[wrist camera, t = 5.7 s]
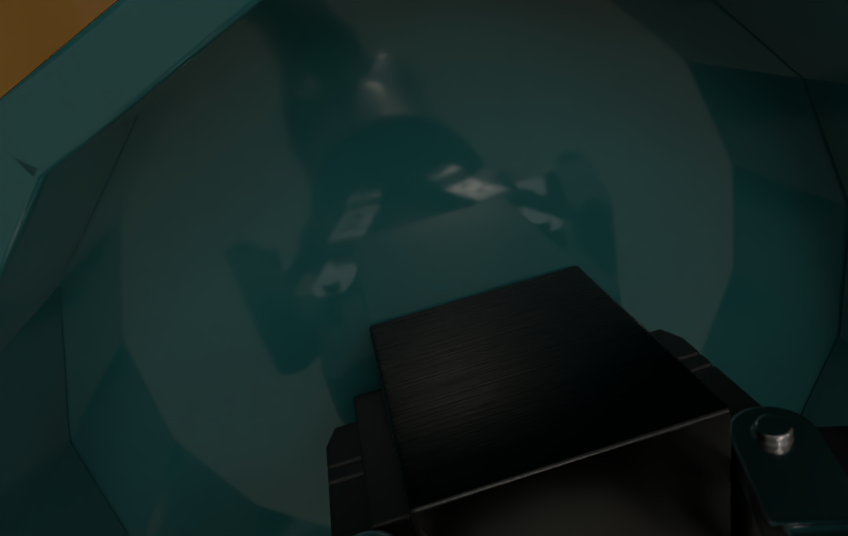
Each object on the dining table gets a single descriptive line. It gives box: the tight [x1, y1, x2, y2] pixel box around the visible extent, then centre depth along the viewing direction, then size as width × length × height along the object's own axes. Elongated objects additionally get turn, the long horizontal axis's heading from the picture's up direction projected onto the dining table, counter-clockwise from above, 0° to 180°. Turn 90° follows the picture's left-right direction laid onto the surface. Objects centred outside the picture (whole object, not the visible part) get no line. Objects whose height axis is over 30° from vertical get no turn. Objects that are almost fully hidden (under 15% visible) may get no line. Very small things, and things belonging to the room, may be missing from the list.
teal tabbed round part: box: [0, 0, 848, 536], centre depth 12 cm, size 19×24×4 cm
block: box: [370, 266, 732, 536], centre depth 11 cm, size 4×4×5 cm
